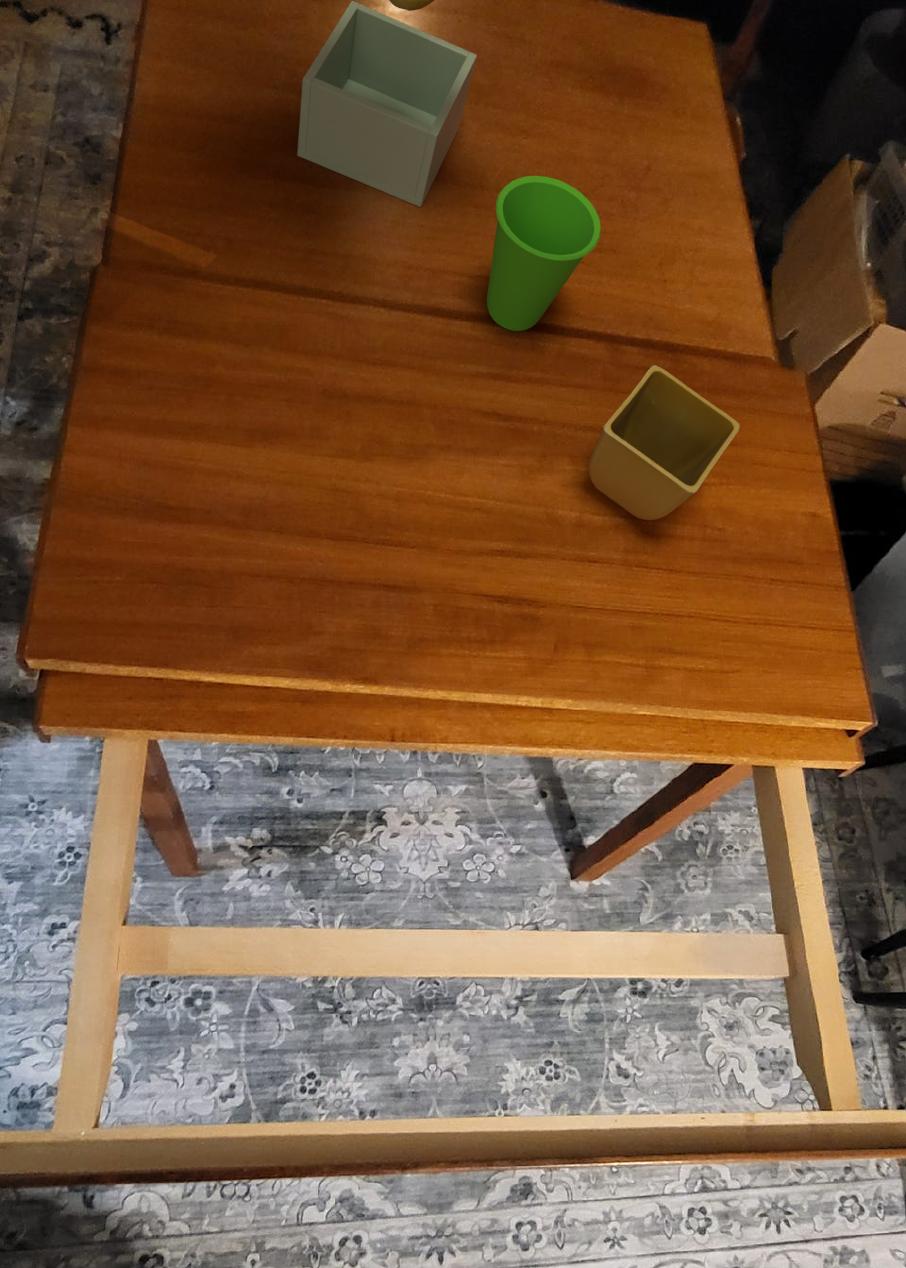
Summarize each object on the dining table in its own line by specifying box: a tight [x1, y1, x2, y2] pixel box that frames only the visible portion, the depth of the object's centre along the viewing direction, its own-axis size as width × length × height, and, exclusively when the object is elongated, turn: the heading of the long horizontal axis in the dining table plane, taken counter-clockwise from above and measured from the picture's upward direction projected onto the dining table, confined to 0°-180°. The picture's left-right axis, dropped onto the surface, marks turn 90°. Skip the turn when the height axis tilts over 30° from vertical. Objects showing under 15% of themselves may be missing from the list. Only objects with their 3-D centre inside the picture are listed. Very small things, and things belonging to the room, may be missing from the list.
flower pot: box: [588, 364, 741, 521], centre depth 74 cm, size 9×9×9 cm
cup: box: [486, 175, 602, 332], centre depth 79 cm, size 9×9×11 cm
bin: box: [296, 0, 478, 208], centre depth 85 cm, size 13×13×8 cm
